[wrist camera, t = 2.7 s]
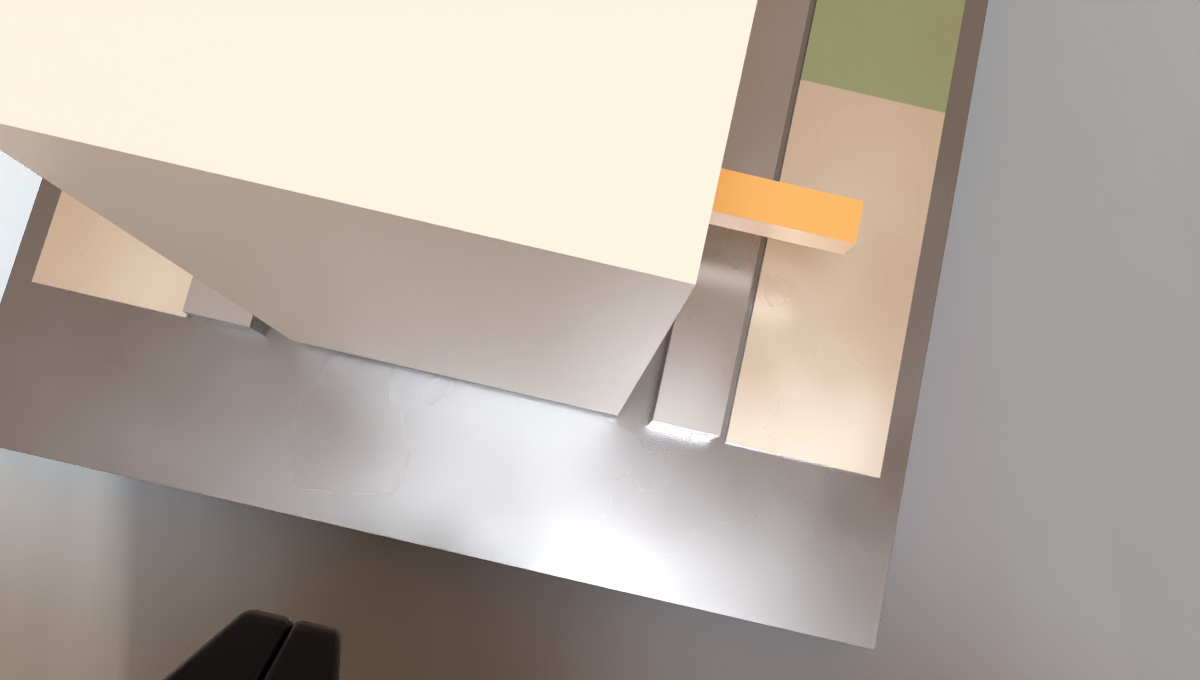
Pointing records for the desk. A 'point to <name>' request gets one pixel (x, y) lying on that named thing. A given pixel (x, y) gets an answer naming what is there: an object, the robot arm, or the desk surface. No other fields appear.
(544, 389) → the cream box
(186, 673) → the robot arm
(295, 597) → the desk surface
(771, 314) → the gauge base
